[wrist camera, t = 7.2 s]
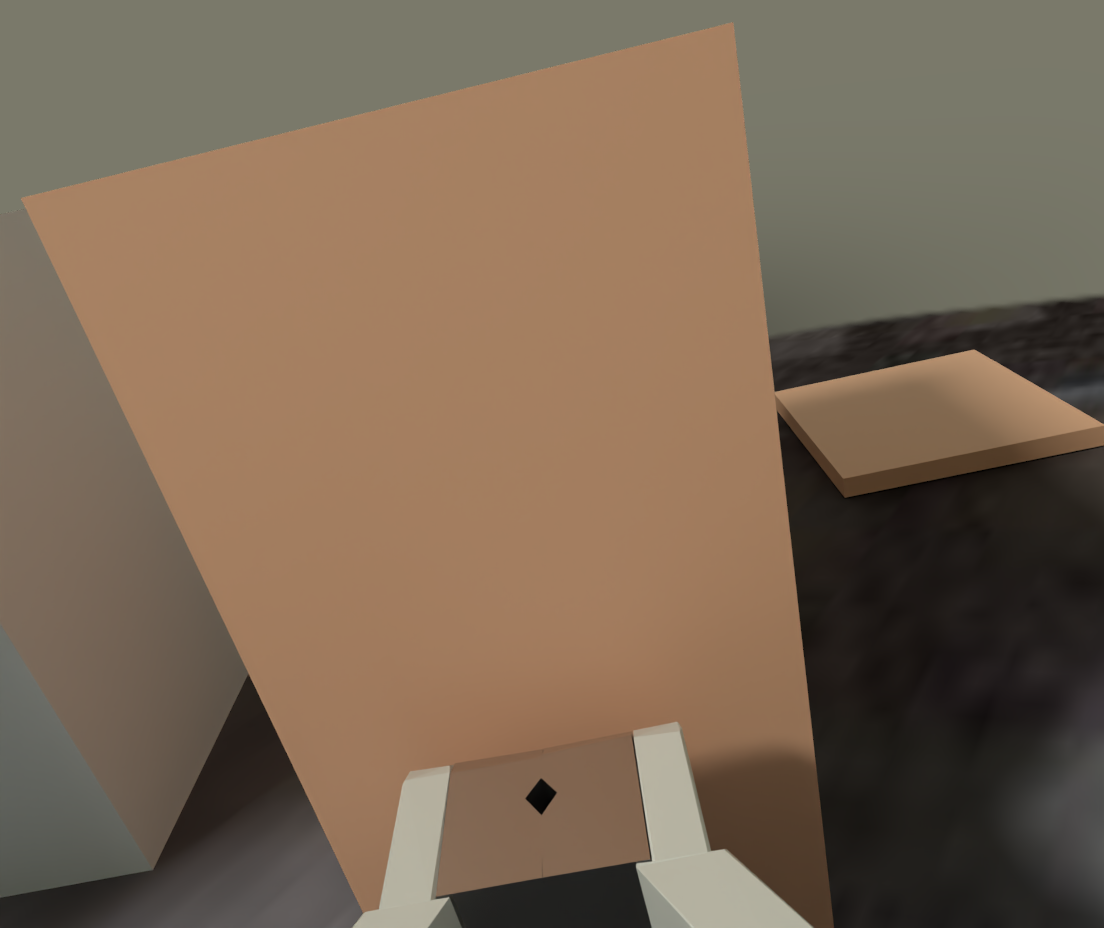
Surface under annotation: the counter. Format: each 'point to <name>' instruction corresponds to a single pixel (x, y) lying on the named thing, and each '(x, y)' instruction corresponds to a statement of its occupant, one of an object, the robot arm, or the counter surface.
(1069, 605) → the counter surface
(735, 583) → the terracotta block
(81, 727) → the blue-grey block
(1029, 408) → the tile
